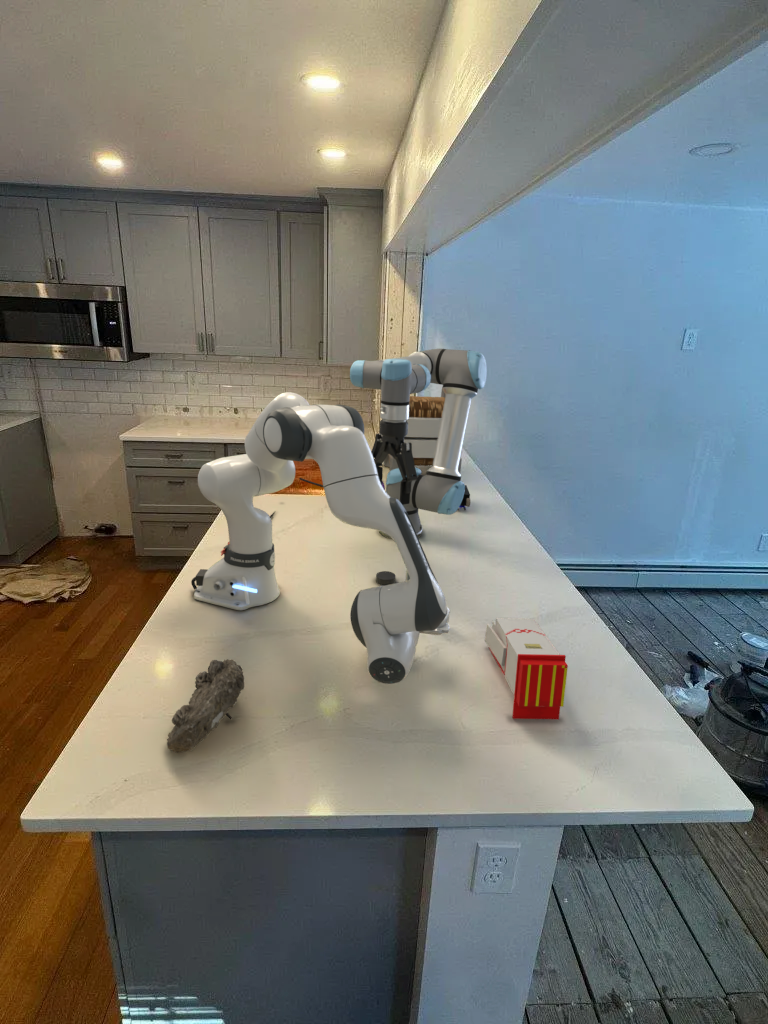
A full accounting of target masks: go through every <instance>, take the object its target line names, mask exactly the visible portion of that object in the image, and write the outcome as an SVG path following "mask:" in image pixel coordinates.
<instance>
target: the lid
mask: <svg viewBox="0 0 768 1024" xmlns="http://www.w3.org/2000/svg"><path fill="white" fill-rule="evenodd" d="M396 577H397V575H396V574H395V573H394V572H392V571H388V570H382V571H378V572H377V573H376V574H375V583H376V584H378V586H385V585H390V584H395V583H396Z"/></svg>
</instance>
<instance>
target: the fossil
mask: <svg viewBox="0 0 768 1024" xmlns="http://www.w3.org/2000/svg"><path fill="white" fill-rule="evenodd" d="M243 670H244V669H243V667H242V665H240V664H237V662H236V661H235V660H234V659H232V658H231V659H227V658H226V659H224V660H223V661H222V660H217V659H212V660H211V661H210V663H209V665H208V666H207V671H201V672H199V673H198V674H197V675H196V676H195V680H194V684H195V685H194V687H195V689H194V690H193V693H192V694H191V697H190V698H189V700H188V704H184V705H182V706H181V707H180V709H177V710H176V711H175V713H174V715H173V716H172V718H171V723H172V724H173V727H172V730H171V731H170V732H168V734H167V738H166V741H167V742H166V745H167V749H168V750H169V751H173V752H174V753H176V754H178V753H182V752H188V751H189V752H192V751H193V750H195V748H196V747H197V746H199V744H200V743H201V742H203V741H204V740H205V739H206V738H207V737H208V736H209V735H210V734H211V733H212V732H214V730H215V729H217V727H218V726H219V724H220V722H221V721H222V720H223V719H224V718H225V716H226V717H227V719H229V720H233V717H232V715H230V714H229V710H230V709H231V708H234V706H235V704H236V703H237V702H238V699H239V697H240V695H241V693H242V691H243V690H245V689H244V688H245V675H244V671H243Z"/></svg>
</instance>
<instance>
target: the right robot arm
mask: <svg viewBox="0 0 768 1024" xmlns="http://www.w3.org/2000/svg"><path fill="white" fill-rule="evenodd" d="M487 371H488V367H487V361H486V358H485V356H484V354H483V353H481V352H479V351H473V350H470V349H467V350H464V349H450V348H449V349H448V348H431V349H427V350H425V349H424V350H419V351H414V352H412V353H410V354H409V355H408V356H401V357H392V358H385V359H384V358H383V359H378V360H377V359H376V360H366V359H362V360H361V359H359V360H358V359H357V360H355V361H354V362H353V363H352V364H351V366H350V369H349V380H350V382H351V384H352V385H353V386H354V387H356V388H362V389H371V390H380V408H379V411H380V414H379V418H380V421H379V429H378V430H379V431H378V432H379V433H375V436H374V442H373V446H372V449H371V452H372V455H373V458H374V461H375V465H376V468H377V472H378V476H379V480H380V482H381V485H382V481H383V472H384V467H383V466H384V464H383V463H384V460H385V459H386V457H387V456H388V454H390V455H391V456H393V458H394V459H395V460H396V462H397V465H398V467H399V468H397V469H393V470H391V471H390V470H389V471H388V473H387V475H386V480H385V491H386V493H387V494H388V495H389V496H390V497H391V498H395V499H398V500H399V501H400V502H401V504H402V505H403V506H404V508H405V510H406V512H407V514H408V516H409V518H410V520H411V522H412V525H413V527H414V529H415V531H416V534H417V536H418V538H420V537H421V536H422V535H423V525H422V524H421V518H420V515H419V510H421V511H427V512H432V513H437V514H439V515H442V514H443V515H453V514H455V513H456V512H457V511H458V510H457V509H460V508H459V506H460V504H461V502H462V500H463V496H464V492H465V485H466V484H465V483H464V482H463V481H462V475H461V474H460V473H459V472H458V467H459V461H460V456H461V457H462V453H461V451H462V452H463V445H464V439H465V435H466V429H467V426H468V425H467V424H468V419H469V415H470V409H471V403H472V399H474V398H475V397H477V395H478V392H479V390H482V389H484V388H485V386H486V384H487V383H486V382H487V373H488V372H487ZM430 384H434V385H442V387H443V388H442V387H441V391H442V390H443V391H444V393H445V394H446V396H445V402H444V407H443V412H442V418H441V423H440V428H439V434H438V439H437V444H436V450H435V455H434V460H433V466H432V465H431V466H430V467H429V468H428V469H427V470H426V473H425V474H422V470H421V468H419V467H416V466H415V464H414V459H413V455H412V444H411V443H404V437H405V436H406V435H407V434H408V422H407V421H406V420H408V419H409V399H410V396H411V395H413V394H419V393H421V392H423V391H425V390H426V389H427V388H429V386H430ZM406 451H407V452H406ZM400 453H401V454H400ZM299 480H300V481H302V482H305V483H308V484H311V485H314V486H318V487H321V488H324V487H323V484H321V483H318V482H313V481H311V480H308V479H305V478H302V477H299ZM378 533H379V534H380V535H381V536H382V537H385V538H387V539H389V540H393V539H392V538H391V537H390V536H389V535H388V534H386V533H384V532H382V531H378Z"/></svg>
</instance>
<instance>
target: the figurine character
mask: <svg viewBox="0 0 768 1024" xmlns="http://www.w3.org/2000/svg"><path fill="white" fill-rule="evenodd" d="M466 507H468V508H470V507H471V493H470V491H469V488H468V486H467V485H466V484H465V492H464V496H463V500H462V502H461V504H460V506H459V508H458V509H457V511H459V510H460V509H463V511H465V512H466V511H467V508H466Z"/></svg>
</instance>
